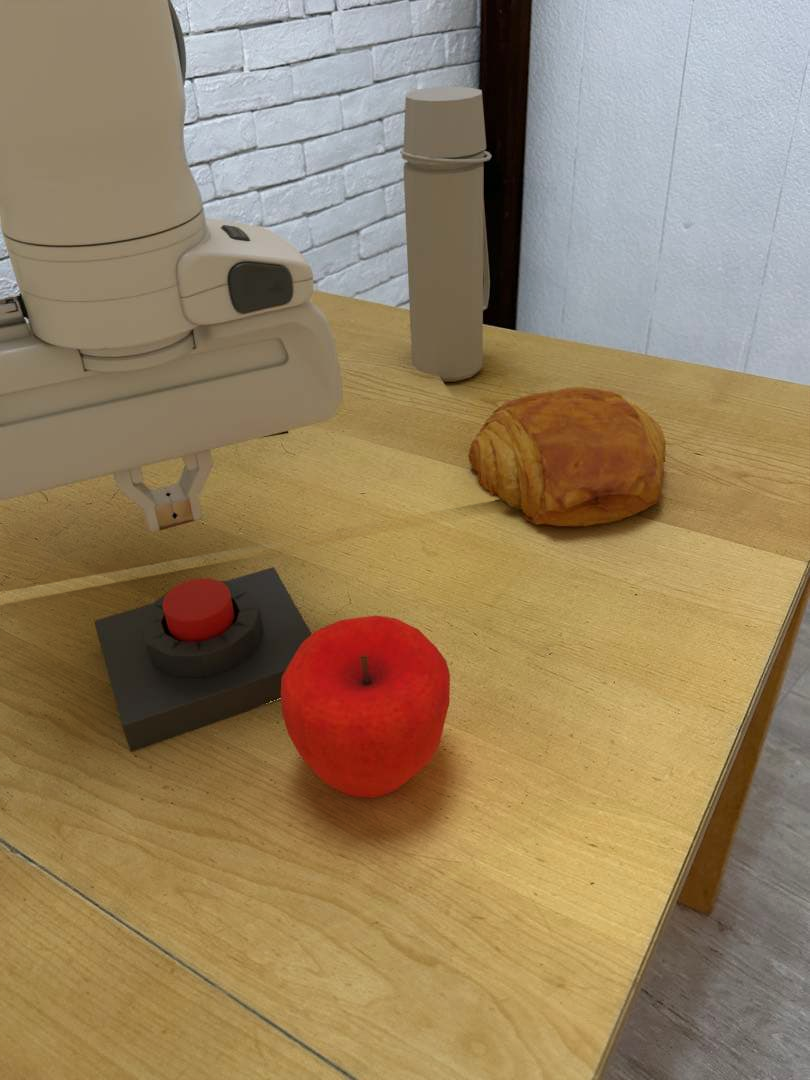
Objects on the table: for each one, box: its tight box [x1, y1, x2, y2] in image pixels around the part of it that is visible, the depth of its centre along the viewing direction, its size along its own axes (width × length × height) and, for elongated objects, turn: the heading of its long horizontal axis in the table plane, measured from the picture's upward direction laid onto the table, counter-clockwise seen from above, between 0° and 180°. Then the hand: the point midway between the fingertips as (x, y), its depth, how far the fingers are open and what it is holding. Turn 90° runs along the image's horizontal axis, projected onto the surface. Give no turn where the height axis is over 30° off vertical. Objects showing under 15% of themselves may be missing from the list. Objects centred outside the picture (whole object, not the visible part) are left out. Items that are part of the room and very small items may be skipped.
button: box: [162, 577, 234, 642], centre depth 54 cm, size 4×4×2 cm
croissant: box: [467, 386, 667, 527], centre depth 70 cm, size 14×16×8 cm
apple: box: [280, 615, 451, 799], centre depth 47 cm, size 9×9×8 cm
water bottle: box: [399, 85, 492, 383], centre depth 83 cm, size 9×8×25 cm
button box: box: [93, 566, 313, 753], centre depth 56 cm, size 12×10×4 cm
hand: (174, 521), depth 50 cm, fingers closed
